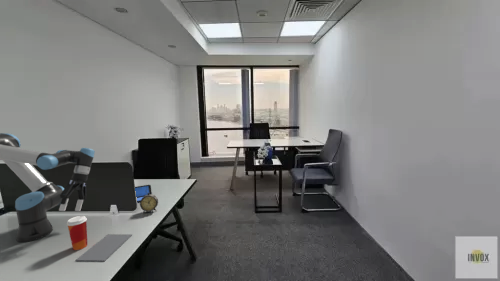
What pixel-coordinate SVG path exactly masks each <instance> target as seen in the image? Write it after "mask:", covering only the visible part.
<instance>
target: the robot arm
mask: <svg viewBox="0 0 500 281" xmlns="http://www.w3.org/2000/svg"><path fill="white" fill-rule="evenodd" d="M94 158H95V150H94V149H93V148H89V147H81V148H80V150H79V151H78V150H69V149H58V150H57V151H56V152H55V153H49V152H48V153H47V152H45V151H37V150H33V149H27V148H22V147H21V141H20V139H19V138H18V136H16V135H15V134H12V133H9V132H8V133H5V132H4V133H3V132H0V161H3V162H4V163H5V164H6V165H7V167H8V168H9V169H10V170H11V171H12V172H14V174H15V175H16V176H17V177H18V178H19V180H21V181H22V182H23V184H24V185H25V186H26V187H28V189H29V190H30V191H31V192H29V193H25V194H22V195H20V196H18V198H16V200H15V202H14V203H15V205H14V208H15V211H16V216H17V223H18V229H17V232H16V235H15V238H16V241H17V242H19V243H26V242H31V241H35V240H38V239H42V238H43V237H46V236H47V235H50V234H51V233H52V232H53V231H54V228H53V227H54V226H53V225H52V223H51V222H50V221H49V219H48V215H47V211H49V210H51V209H53V208H55V207H58V206H59V208H58V211H61V212H65V211H66V209H67V206H68V204H69V203H68V202H69V197H70V196H71V195H72V194H73V192H74V191H77V195H78V199H77V202H76V206H75V208H74V211H75V212H81V209H82V205H83V203H84V201H86V200H87V198H88V197H87V196H88V194H87V192H88V191H87V186H88V183H87V181H88V177H89V174H90V171H91V167H92V163H93V160H94ZM67 164H75V166H74V169H73V173H72V176H71V179H70V180H68V182H67V184H66V185H65V187H63V186H62V185H56V184H54V182H52V181H48V180H47V179H46V178H45V177H44V175H43V174H41V172H40V171H38V170H37V169H36V167H38V168H39V169H41V170H43V171H44V170H45V171H47V170H51V169H54V168H57V167H60V166H64V165H67ZM35 166H36V167H35Z"/></svg>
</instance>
